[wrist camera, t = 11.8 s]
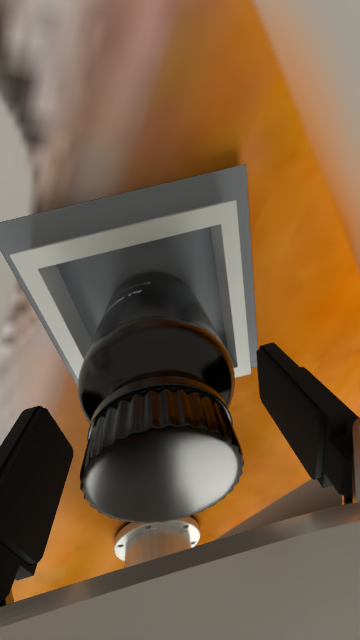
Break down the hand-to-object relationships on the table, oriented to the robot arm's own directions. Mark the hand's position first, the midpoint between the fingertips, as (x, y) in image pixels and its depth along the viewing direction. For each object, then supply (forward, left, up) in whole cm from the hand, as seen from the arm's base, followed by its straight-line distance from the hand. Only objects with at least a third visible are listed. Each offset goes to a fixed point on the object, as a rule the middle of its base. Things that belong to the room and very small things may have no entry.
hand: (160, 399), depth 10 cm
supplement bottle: (0, 0, -9) cm, 9 cm away
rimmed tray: (+1, 0, -9) cm, 9 cm away
